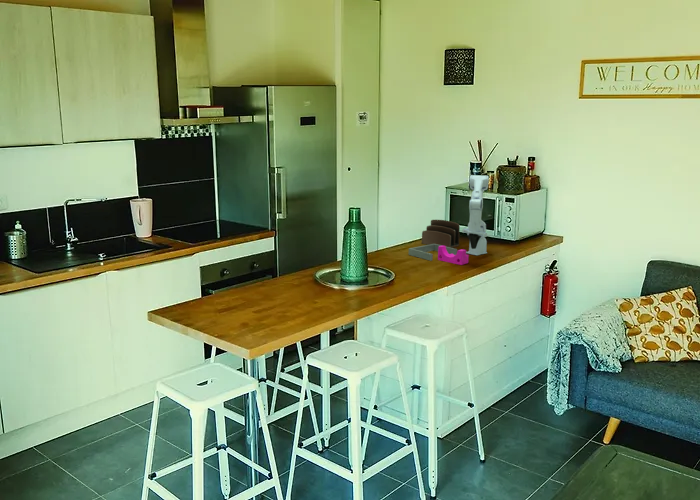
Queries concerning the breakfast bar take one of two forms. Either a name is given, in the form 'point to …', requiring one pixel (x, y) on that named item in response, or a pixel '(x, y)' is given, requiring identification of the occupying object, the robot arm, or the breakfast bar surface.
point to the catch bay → (422, 250)
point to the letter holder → (442, 233)
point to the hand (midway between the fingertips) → (473, 248)
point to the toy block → (452, 256)
